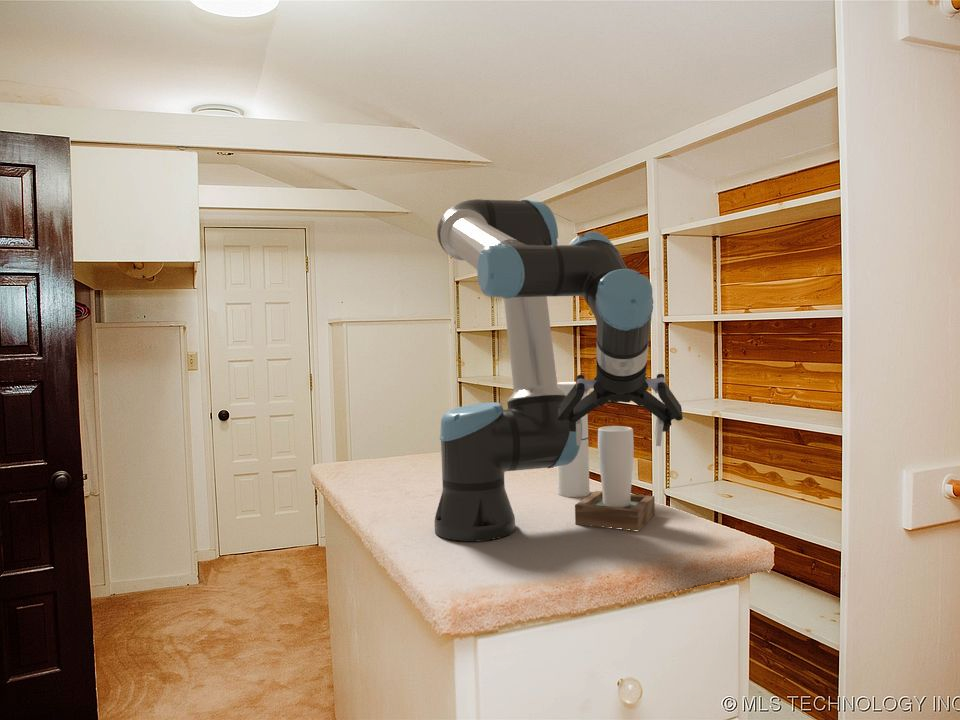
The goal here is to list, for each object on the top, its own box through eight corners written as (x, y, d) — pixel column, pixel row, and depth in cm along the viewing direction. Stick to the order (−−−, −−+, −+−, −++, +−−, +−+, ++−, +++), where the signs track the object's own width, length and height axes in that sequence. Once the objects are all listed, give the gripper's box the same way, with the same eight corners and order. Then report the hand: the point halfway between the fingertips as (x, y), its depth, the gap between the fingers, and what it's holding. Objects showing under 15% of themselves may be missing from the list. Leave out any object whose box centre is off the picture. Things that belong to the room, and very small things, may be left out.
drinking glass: (609, 511, 124) (608, 432, 123) (592, 503, 130) (591, 427, 129) (641, 508, 126) (640, 429, 125) (623, 499, 132) (622, 424, 131)
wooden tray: (637, 531, 120) (637, 511, 120) (575, 524, 126) (574, 504, 125) (654, 514, 130) (654, 496, 130) (596, 508, 136) (595, 490, 136)
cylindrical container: (586, 497, 145) (583, 384, 144) (554, 496, 147) (551, 384, 146) (591, 490, 152) (589, 381, 151) (561, 488, 154) (558, 381, 153)
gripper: (538, 379, 100) (546, 456, 116) (710, 378, 96) (694, 458, 112) (540, 343, 105) (547, 421, 120) (704, 340, 101) (689, 422, 117)
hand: (617, 439), depth 116 cm, fingers open, 13 cm apart
